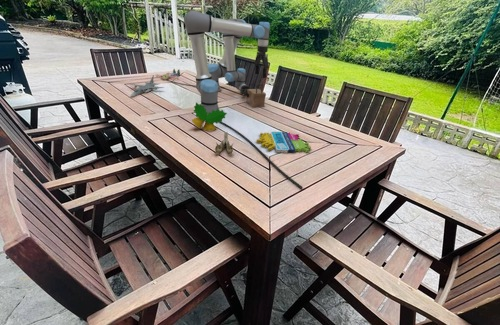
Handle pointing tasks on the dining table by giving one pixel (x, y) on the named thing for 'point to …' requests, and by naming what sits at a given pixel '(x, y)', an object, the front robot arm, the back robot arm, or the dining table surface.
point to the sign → (283, 142)
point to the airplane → (145, 87)
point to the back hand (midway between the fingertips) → (254, 95)
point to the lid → (257, 90)
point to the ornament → (207, 117)
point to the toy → (170, 75)
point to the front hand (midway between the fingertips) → (260, 76)
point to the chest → (256, 100)
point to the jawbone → (224, 145)
